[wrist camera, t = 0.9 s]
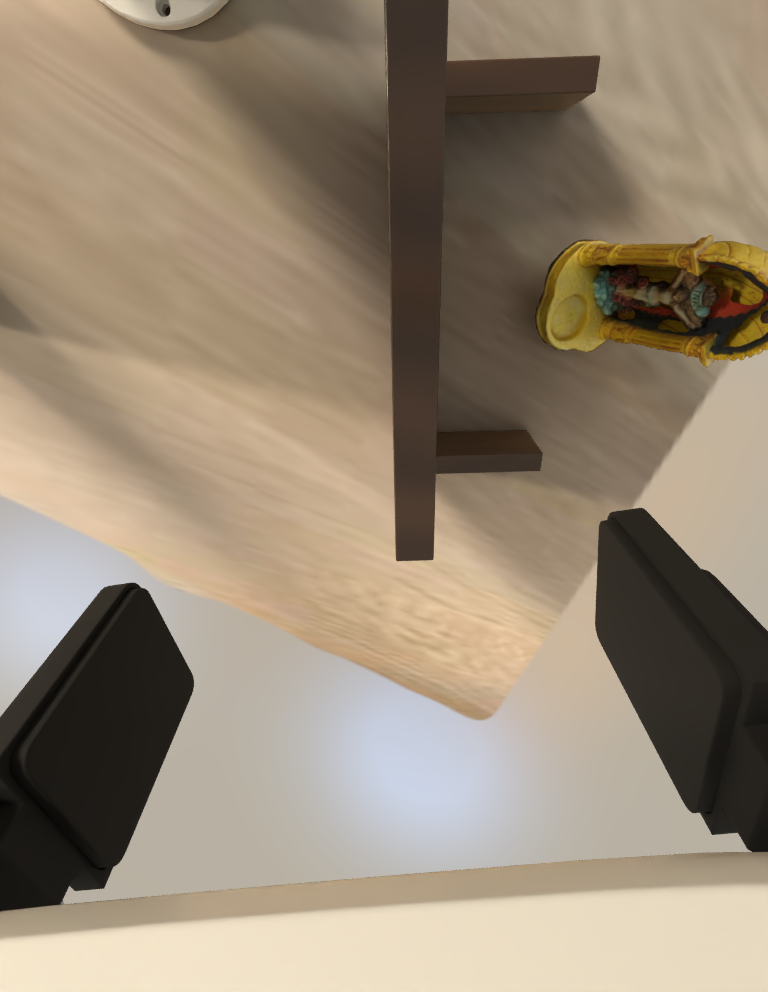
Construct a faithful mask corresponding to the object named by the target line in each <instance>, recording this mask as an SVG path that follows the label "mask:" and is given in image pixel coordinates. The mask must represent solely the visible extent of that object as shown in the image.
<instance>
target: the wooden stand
mask: <svg viewBox="0 0 768 992" xmlns="http://www.w3.org/2000/svg"><path fill="white" fill-rule="evenodd" d="M384 17H385V65H386V113H387V161H388V209H389V257H390V305H391V353H392V401H393V449H394V497H395V545H396V561H418V560H433V557H434V520H435V482H436V474H446V473H482V472H518V471H540V468H541V461H542V455H543V453H542V452H541V450H540V449H539V447H538V446H537V444H536V443H535V442H534V440H533V439H532V437H531V436H530V434H529V433H528V432H527V430H506V431H471V432H437V408H438V371H439V334H440V296H441V259H442V222H443V185H444V148H445V114H463V113H492V112H520V111H548V110H566V109H568V108H569V107H571V106H573V105H574V104H576V103H578V102H579V101H581V100H582V99H584V98H586V97H587V96H589V95H591V94H592V93H594V92H595V90H596V83H597V76H598V69H599V62H600V56H573V57H546V58H519V59H491V60H464V61H447V36H448V0H384Z"/></svg>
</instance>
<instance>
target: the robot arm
mask: <svg viewBox="0 0 768 992" xmlns="http://www.w3.org/2000/svg"><path fill="white" fill-rule="evenodd" d="M99 1H100V2H102V3H103V4H104V5H106V6H107V7H109V8H110V9H111V10H113V11H114V12H115V13H117V14H119V15H121V16H122V17H124V18H126V19H128V20H130V21H132V22H134V23H136V24H139V25H142V26H146V27H150V28H153V29H157V30H180V29H184V28H188V27H192V26H196V25H198V24H200V23H202V22H203V21H205V20H207V19H209V18H211V17H212V16H214V15H215V14H216V13H217V12H218V11H219V10H220V9H221V8H222V7H223V6H224V5H225V4H227V3H228V2H229V0H99ZM167 7H170V8H171V12H170V14H169V16H166V15H165V10H166V8H167ZM595 626H596V632H597V636H598V639H599V641H600V643H601V645H602V647H603V649H604V651H605V653H606V655H607V657H608V658H609V660H610V662H611V664H612V666H613V668H614V670H615V672H616V674H617V676H618V678H619V680H620V681H621V684H622V685H623V687H624V689H625V691H626V693H627V695H628V697H629V699H630V701H631V703H632V705H633V707H634V708H635V710H636V712H637V714H638V716H639V718H640V720H641V722H642V724H643V726H644V728H645V730H646V731H647V733H648V735H649V737H650V739H651V741H652V743H653V745H654V747H655V749H656V751H657V753H658V754H659V756H660V758H661V760H662V762H663V764H664V766H665V768H666V770H667V772H668V773H669V775H670V777H671V779H672V781H673V783H674V785H675V787H676V789H677V791H678V793H679V795H680V796H681V799H682V800H683V802H684V804H685V806H686V807H687V808H688V810H689V811H691V812H692V813H701V815H702V817H703V819H704V821H705V823H706V824H707V826H708V828H709V830H710V832H711V834H712V835H715V834H727V833H738V834H739V835H740V837H741V839H742V840H743V842H744V844H745V845H746V847H747V849H748V850H750V851H752V852H723V853H691V854H674V855H658V856H641V857H625V858H609V859H592V860H578V861H565V862H553V863H541V864H529V865H517V866H516V865H515V866H503V867H491V868H478V869H465V870H453V871H441V872H428V873H416V874H404V875H392V876H380V877H368V878H357V879H344V880H333V881H321V882H309V883H298V884H286V885H275V886H263V887H251V888H240V889H228V890H217V891H206V892H194V893H184V894H174V895H162V896H151V897H140V898H129V899H118V900H107V901H96V902H85V903H74V904H63V898H64V896H65V893H66V892H67V889H68V887H69V886H70V887H71V888H73V889H74V891H80V890H91V889H102V888H104V887H105V885H106V883H107V880H108V878H109V876H110V873H111V871H112V868H113V866H115V865H117V864H118V863H119V862H120V861H121V860H122V858H123V856H124V854H125V852H126V849H127V847H128V845H129V842H130V840H131V838H132V835H133V833H134V831H135V828H136V826H137V823H138V821H139V819H140V816H141V814H142V812H143V809H144V807H145V804H146V802H147V800H148V797H149V795H150V792H151V790H152V787H153V785H154V783H155V781H156V778H157V776H158V773H159V771H160V768H161V766H162V764H163V761H164V759H165V757H166V754H167V752H168V750H169V747H170V745H171V743H172V740H173V738H174V735H175V733H176V731H177V728H178V726H179V723H180V721H181V718H182V716H183V714H184V712H185V709H186V707H187V704H188V702H189V700H190V697H191V695H192V692H193V687H194V680H193V675H192V673H191V671H190V669H189V667H188V665H187V663H186V662H185V660H184V658H183V656H182V654H181V652H180V650H179V648H178V646H177V644H176V643H175V641H174V639H173V637H172V635H171V633H170V632H169V629H168V628H167V626H166V624H165V622H164V620H163V618H162V616H161V614H160V612H159V610H158V609H157V607H156V605H155V603H154V601H153V599H152V597H151V595H150V594H149V592H148V591H147V590H146V589H144V588H141V587H140V586H139V585H138V584H136V583H126V584H119V585H113V586H108V587H104V588H103V589H102V590H101V591H100V593H99V594H98V595H97V596H96V598H95V599H94V600H93V601H92V603H91V604H90V605H89V606H88V608H87V609H86V610H85V611H84V612H83V614H82V615H81V616H80V618H79V619H78V620H77V621H76V623H75V624H74V625H73V626H72V628H71V629H70V630H69V631H68V633H67V634H66V635H65V636H64V638H63V639H62V640H61V641H60V643H59V644H58V645H57V646H56V648H55V649H54V650H53V651H52V653H51V654H50V655H49V657H48V658H47V659H46V660H45V662H44V663H43V664H42V665H41V667H40V668H39V669H38V670H37V672H36V673H35V674H34V675H33V677H32V678H31V679H30V680H29V682H28V683H27V684H26V685H25V687H24V688H23V689H22V690H21V692H20V693H19V694H18V696H17V697H16V698H15V699H14V701H13V702H12V703H11V704H10V706H9V707H8V708H7V709H6V711H5V712H4V713H3V714H2V716H1V717H0V992H768V631H767V630H766V629H765V628H764V627H763V626H762V625H761V624H760V623H759V622H758V621H757V620H756V619H755V618H754V616H753V615H752V614H751V613H750V612H749V611H748V610H747V609H746V608H745V607H744V606H743V605H742V604H741V603H740V602H739V601H738V600H737V599H736V598H735V597H734V596H733V595H732V593H730V591H729V590H728V589H727V588H726V587H725V586H724V585H723V584H722V583H721V582H720V581H719V580H718V579H717V578H716V577H715V576H714V575H712V574H711V573H710V572H709V571H706V570H703V569H700V568H699V567H698V565H697V564H696V563H694V561H693V560H692V559H691V558H690V557H689V556H688V555H687V554H686V553H685V552H684V550H683V549H682V548H681V547H680V546H679V545H678V544H677V543H676V542H675V541H674V540H673V539H672V538H671V537H670V536H669V534H667V532H666V531H665V530H664V529H663V528H662V527H661V526H660V525H659V524H658V523H657V522H656V521H655V519H654V518H653V517H652V516H651V515H650V514H649V513H648V512H647V511H646V510H645V509H643V508H636V509H629V510H623V511H616V512H611V513H610V514H609V516H608V520H606V521H601V522H600V525H599V540H598V565H597V591H596V616H595Z"/></svg>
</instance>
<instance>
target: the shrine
mask: <svg viewBox="0 0 768 992" xmlns="http://www.w3.org/2000/svg"><path fill="white" fill-rule="evenodd" d="M535 320H536V328H537V331H538V333H539V335H540V336H541V337H542V339H543V341H544V342H545V343H547V344H550V345H551V346H552V347H554V348H555V349H556V350H562V351H564V350H574V349H575V350H580V351H583V352H590V351H592V350H594V349H595V348H597V347H598V346H600V345H601V344H603V343H604V342H605V341H606V339H612V340H613V341H615V342H621V343H625V344H627V343H633V344H637V345H638V344H639V345H644V346H647V347H651V348H652V347H653V348H656V349H658V350H659V349H662V350H667V351H673V352H680V353H684V354H685V356H687V357H690V356H694V357H697V358H699V359H700V361H701V363H702V364H703V365H704V366H706V367H707V368H708V366H709V365H710V364H711V363H712V362H713V361H714V360H717V361H718V360H726V359H729V358H730V360H731V361H735V360H736V359H738V358H739V359H740V360H744V358H745V357H746V356H748V357H749V358H750V357H752V356H753V355H755V354H756V355H757V354H760V353H761V352H762V351H763V350H767V349H768V252H766V251H763V250H761V249H760V248H757V247H755V246H752V245H747V244H742V243H738V242H733V241H722V242H713V235H709V236H708V237H706V238H701V239H699V240H698V241H697V242H696V243H693V244H631V245H621V244H609V243H607V242H605V241H598V240H596V241H594V240H578V241H576V242H574V243H573V244H571V245H570V246H569V247H568V248H566V249H565V250H563V251H562V252H561V253H560V254H559V255H558V257H557V258H556V259H555V260H554V261H553V262H552V263H551V265H550V267H549V270H548V274H547V276H546V280H545V286H544V291H543V294H542V296H541V298H540V300H539V304H538V306H537V308H536V314H535Z"/></svg>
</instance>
